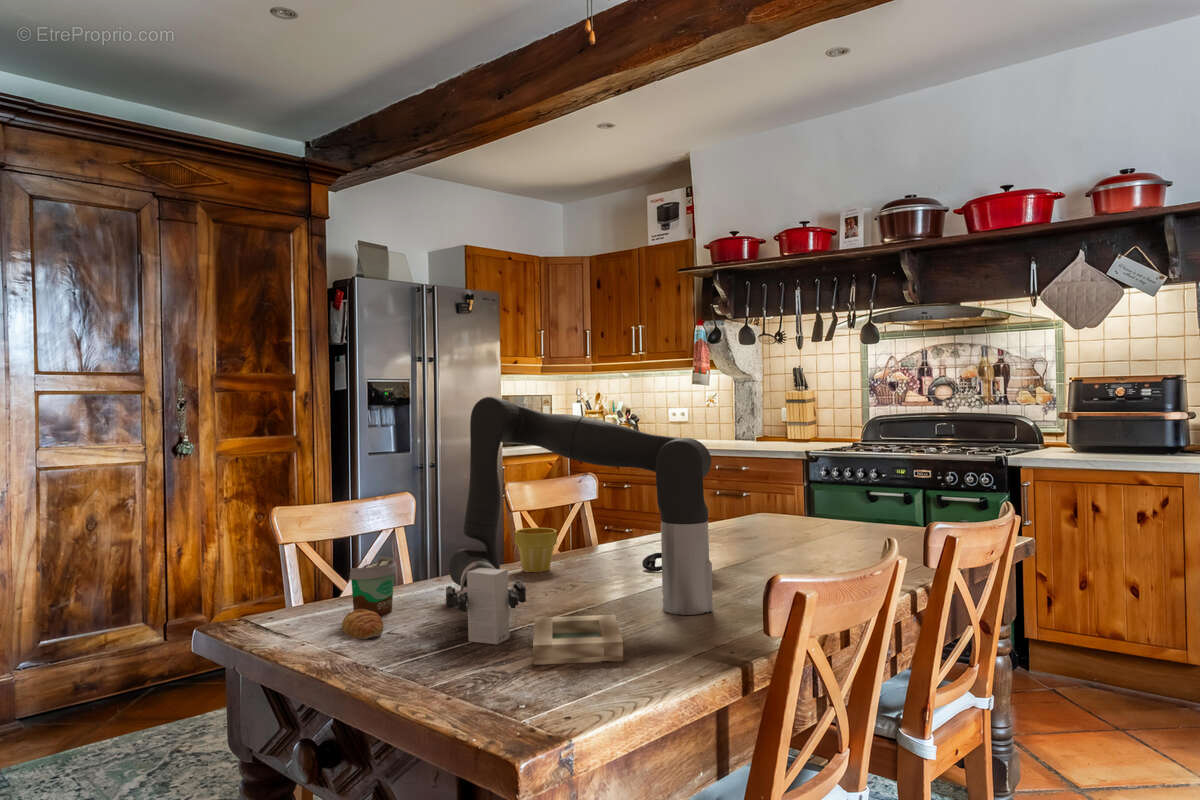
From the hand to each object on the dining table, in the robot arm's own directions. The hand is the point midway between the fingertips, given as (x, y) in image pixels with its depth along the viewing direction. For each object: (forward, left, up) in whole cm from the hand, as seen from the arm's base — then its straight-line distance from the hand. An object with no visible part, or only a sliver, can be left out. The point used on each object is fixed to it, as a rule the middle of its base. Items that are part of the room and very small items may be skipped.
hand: (489, 604), depth 133 cm
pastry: (+23, -10, -7) cm, 26 cm away
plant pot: (-7, -59, -7) cm, 60 cm away
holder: (-15, +4, -7) cm, 17 cm away
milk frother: (-40, -51, -7) cm, 65 cm away
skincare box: (0, -2, -7) cm, 7 cm away
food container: (+23, -23, -7) cm, 33 cm away
